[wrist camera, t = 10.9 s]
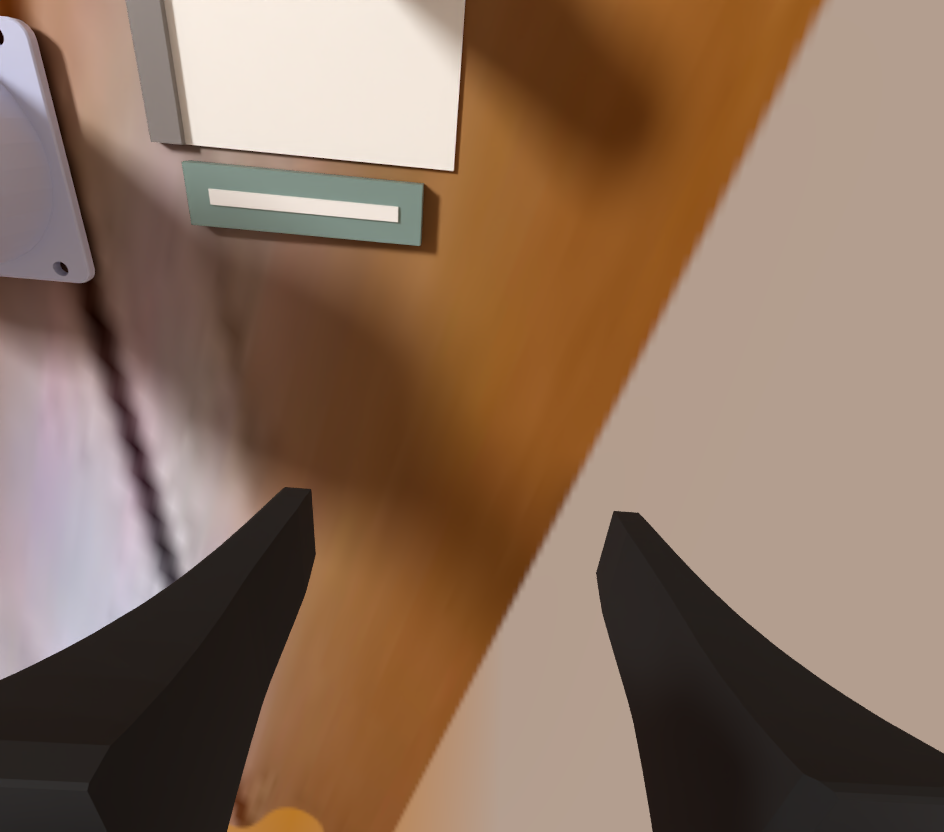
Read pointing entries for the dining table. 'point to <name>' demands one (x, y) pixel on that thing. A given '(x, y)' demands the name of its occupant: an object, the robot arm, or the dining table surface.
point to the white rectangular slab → (304, 76)
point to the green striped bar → (304, 203)
